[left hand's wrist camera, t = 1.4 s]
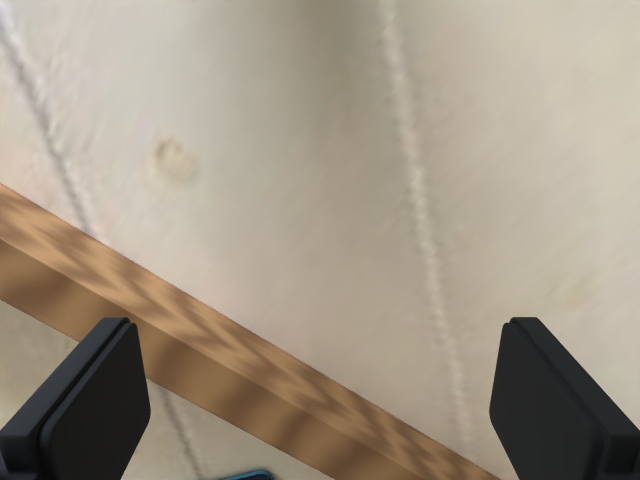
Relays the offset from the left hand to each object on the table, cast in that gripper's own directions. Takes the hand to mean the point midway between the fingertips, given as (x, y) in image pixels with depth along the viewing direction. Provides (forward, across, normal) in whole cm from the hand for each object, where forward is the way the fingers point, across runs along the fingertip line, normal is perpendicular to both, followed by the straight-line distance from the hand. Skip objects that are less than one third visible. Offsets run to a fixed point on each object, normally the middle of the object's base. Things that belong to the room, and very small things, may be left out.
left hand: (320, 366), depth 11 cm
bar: (+26, +6, +18) cm, 32 cm away
